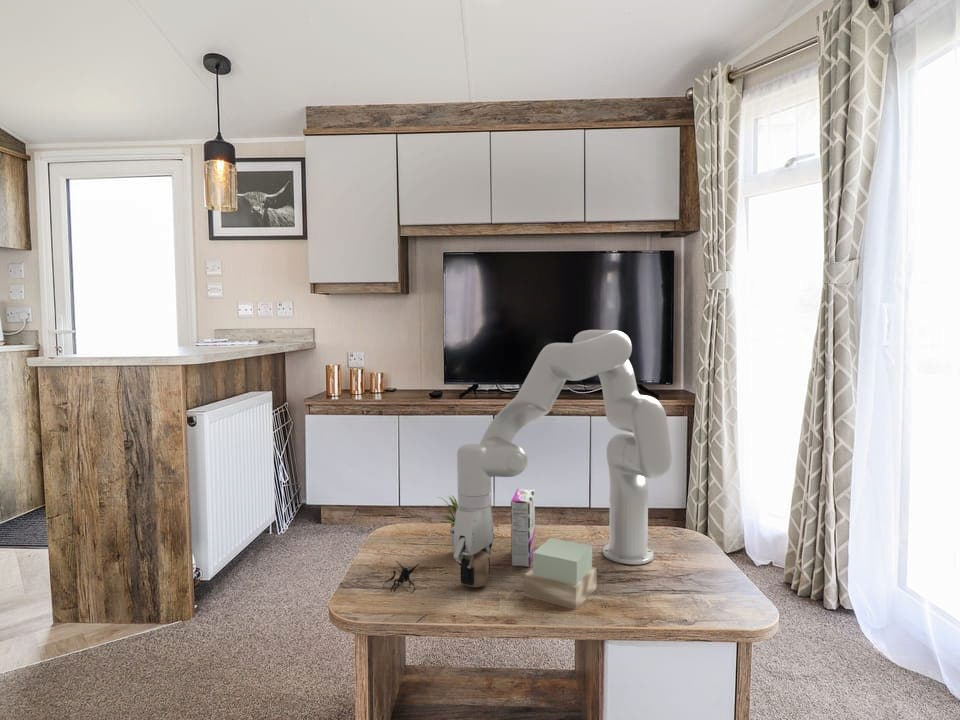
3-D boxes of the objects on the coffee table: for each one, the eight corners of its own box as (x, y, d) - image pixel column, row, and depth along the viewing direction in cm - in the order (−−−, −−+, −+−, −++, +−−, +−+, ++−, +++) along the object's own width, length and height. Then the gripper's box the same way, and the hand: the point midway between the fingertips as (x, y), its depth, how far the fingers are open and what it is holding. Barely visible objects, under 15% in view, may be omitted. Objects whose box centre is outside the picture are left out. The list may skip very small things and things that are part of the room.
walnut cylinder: (471, 573, 134) (471, 548, 134) (493, 579, 131) (493, 553, 131) (457, 583, 129) (456, 557, 129) (479, 589, 126) (479, 562, 126)
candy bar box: (516, 549, 152) (516, 488, 151) (535, 550, 151) (535, 489, 150) (509, 566, 141) (510, 500, 140) (530, 568, 140) (530, 501, 139)
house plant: (425, 564, 142) (425, 499, 141) (436, 543, 156) (436, 484, 155) (483, 567, 140) (483, 501, 140) (488, 546, 154) (489, 486, 153)
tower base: (547, 577, 136) (548, 556, 136) (596, 589, 129) (596, 567, 129) (524, 597, 126) (524, 574, 125) (575, 611, 119) (575, 587, 119)
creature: (409, 602, 125) (425, 579, 132) (406, 580, 124) (422, 559, 131) (378, 596, 128) (395, 574, 135) (375, 575, 126) (392, 554, 133)
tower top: (550, 558, 134) (550, 537, 134) (591, 567, 129) (592, 545, 129) (532, 575, 125) (532, 552, 125) (576, 585, 120) (576, 561, 120)
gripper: (480, 488, 139) (481, 561, 140) (438, 507, 124) (439, 589, 125) (507, 492, 135) (508, 568, 136) (467, 513, 120) (468, 597, 121)
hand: (475, 577), depth 130 cm, fingers closed on walnut cylinder, 6 cm apart
